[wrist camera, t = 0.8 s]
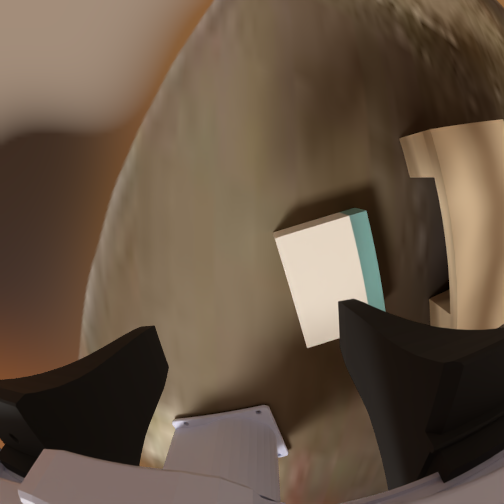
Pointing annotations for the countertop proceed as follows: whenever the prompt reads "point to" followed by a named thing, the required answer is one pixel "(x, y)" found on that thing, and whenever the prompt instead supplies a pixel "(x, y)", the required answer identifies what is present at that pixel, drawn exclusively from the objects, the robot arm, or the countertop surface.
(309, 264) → the white block
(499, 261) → the tan rectangular block
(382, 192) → the countertop surface
